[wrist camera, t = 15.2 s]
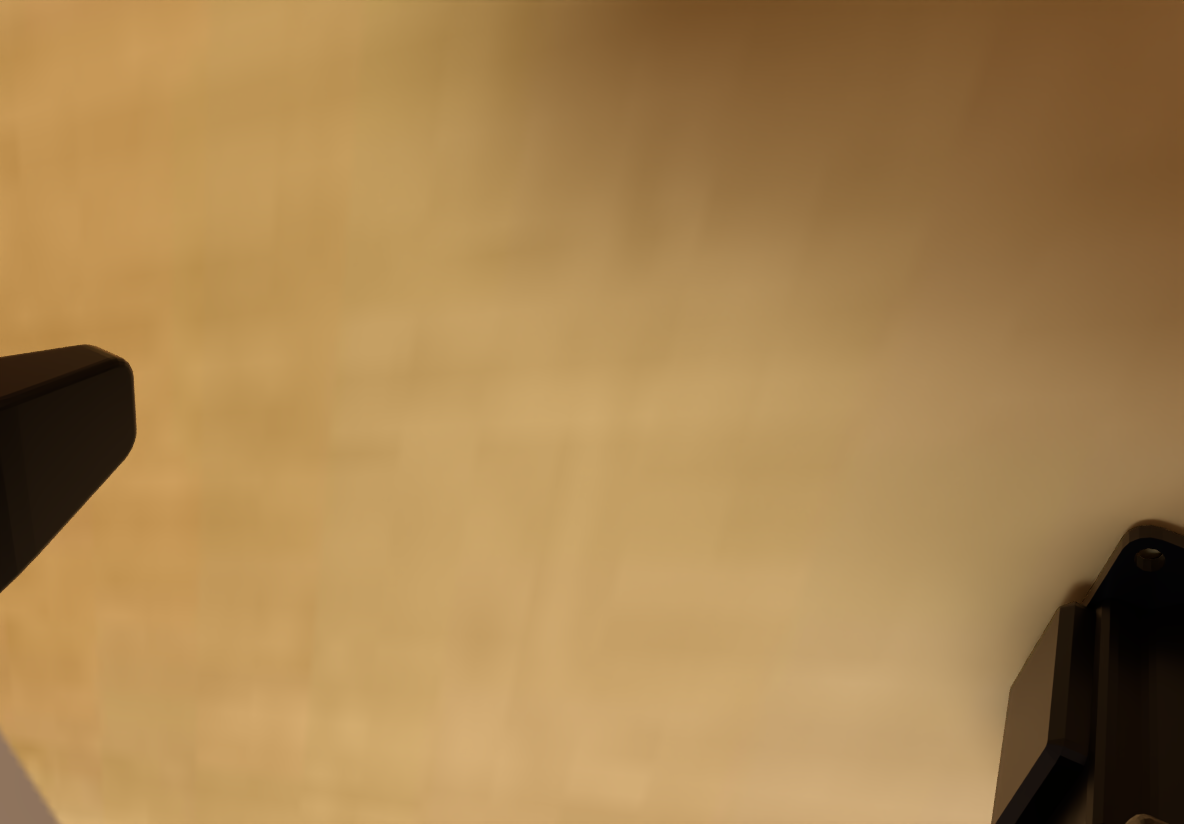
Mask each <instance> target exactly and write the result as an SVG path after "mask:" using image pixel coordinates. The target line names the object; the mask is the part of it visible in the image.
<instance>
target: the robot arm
mask: <svg viewBox="0 0 1184 824" xmlns="http://www.w3.org/2000/svg"><path fill="white" fill-rule="evenodd" d="M136 430H137V428H136V410H135V393H134V376H133V371H132V369H131V367H130V365H129V363H128V362H127V361H125V360H124V359H123V358H121V357H119V356H117V355H114V354H112V353H110V352H108V351H105V350H103V349H101V348H99V347H96V346H92V345H86V344H84V345H76V346H69V347H63V348H56V349H50V350H44V351H37V352H31V353H24V354H18V355H11V356H5V357H0V593H1V592H2V591H3V590H4V589H5V588H6V587H7V586H8V585H9V584H10V583H11V582H12V581H13V580H15V579H16V578H17V577H18V576H19V575H20V574H21V573H22V572H23V570H24V569H25V568H26V567H27V566H28V565H29V564H30V563H31V562H32V561H33V560H34V559H35V558H36V557H37V556H38V555H39V554H40V553H41V551H42V550H43V549H44V548H45V547H46V546H47V545H48V544H49V543H50V541H51V540H52V539H53V538H54V537H55V536H56V535H57V534H58V533H59V532H60V530H61V529H62V528H63V527H64V526H65V525H66V524H67V523H68V522H69V521H70V519H71V518H72V517H73V516H74V515H75V514H76V513H77V512H78V511H79V509H80V508H81V507H82V506H83V505H84V504H85V503H86V502H87V501H88V500H89V498H90V497H91V496H92V495H93V494H94V493H95V492H96V491H97V490H98V488H99V487H100V486H101V485H102V484H103V483H104V482H105V481H106V480H107V479H108V477H109V476H110V475H111V474H112V473H113V472H114V471H115V470H116V469H117V467H118V466H119V465H120V464H121V463H122V462H123V461H124V460H125V458H126V457H127V456H128V454H129V452H130V451H131V449H132V447H133V444H134V442H135V438H136ZM1148 548H1149V549H1155V550H1158V551H1159V552H1161V553H1162V554H1163V555H1162V556H1160V557H1159V558H1156V559H1151V560H1150V559H1145V558H1142V557H1141V556H1139V555H1138V554H1137V553H1138V552H1139V551H1140V550H1143V549H1148ZM991 824H1184V536H1182V535H1180V534H1177V533H1174V532H1172V531H1169V530H1167V529H1164V528H1161V527H1156V526H1152V525H1149V526H1139V527H1136V528H1134V529H1132V530H1129V531H1128V532H1127V533H1126V534H1125V535H1124V536H1123V537H1122V539H1121V541H1120V542H1119V544H1118V545H1117V547H1116V549H1115V550H1114V552H1113V554H1112V555H1111V557H1110V558H1109V560H1108V562H1107V563H1106V565H1105V567H1104V568H1103V570H1102V571H1101V573H1100V575H1099V576H1098V578H1097V579H1096V581H1095V583H1094V584H1093V586H1092V588H1091V589H1090V591H1089V592H1088V594H1087V596H1086V597H1085V599H1084V601H1083V602H1082V604H1079V603H1076V602H1072V603H1069V604H1066V605H1064V606H1061V607H1059V608H1058V610H1057V611H1056V613H1055V615H1054V616H1053V618H1052V619H1051V621H1050V623H1049V624H1048V626H1047V628H1046V629H1045V631H1044V633H1043V634H1042V636H1041V638H1040V639H1039V641H1038V643H1037V644H1036V646H1035V648H1034V649H1033V651H1032V653H1031V654H1030V656H1029V658H1028V659H1027V661H1026V663H1025V664H1024V666H1023V668H1022V669H1021V671H1020V673H1019V674H1018V676H1017V678H1016V679H1015V681H1014V683H1013V684H1012V686H1011V689H1010V693H1009V700H1008V707H1007V714H1006V722H1005V729H1004V736H1003V743H1002V750H1001V757H1000V764H999V771H998V779H997V786H996V793H995V800H994V807H993V814H992V821H991Z"/></svg>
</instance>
